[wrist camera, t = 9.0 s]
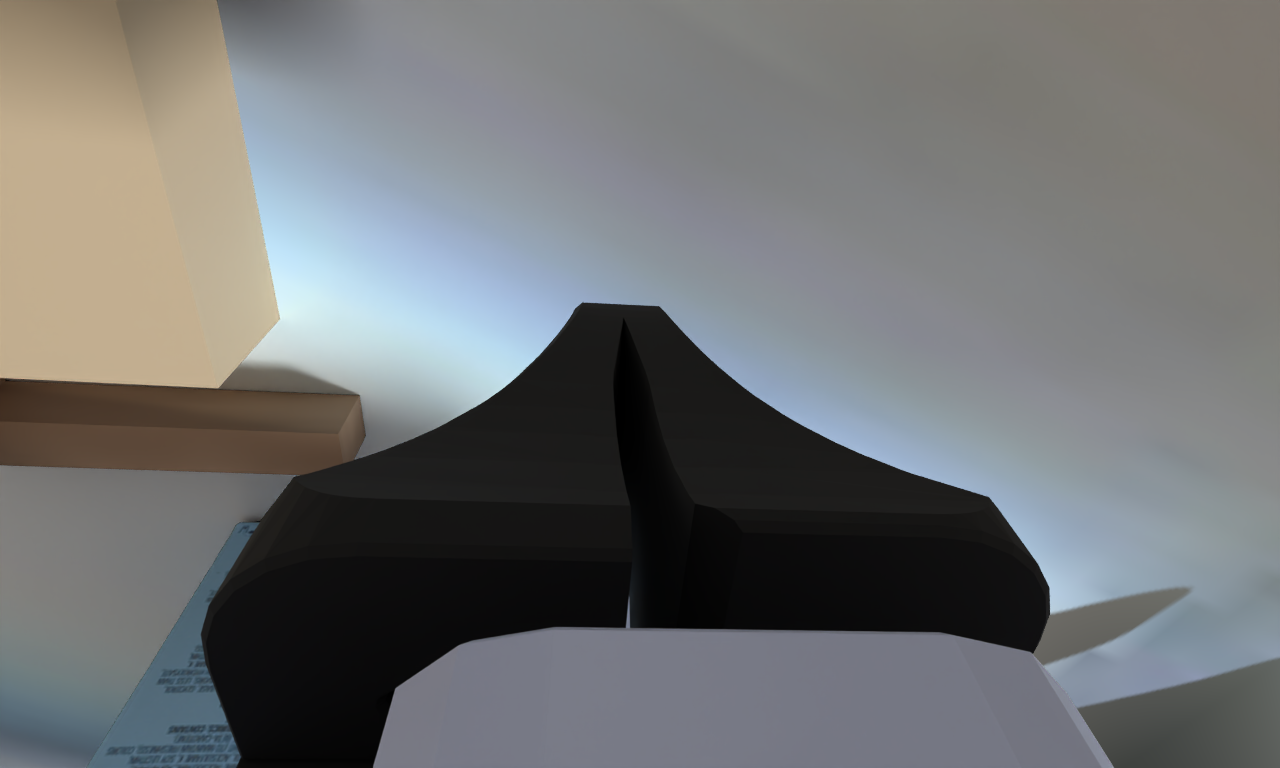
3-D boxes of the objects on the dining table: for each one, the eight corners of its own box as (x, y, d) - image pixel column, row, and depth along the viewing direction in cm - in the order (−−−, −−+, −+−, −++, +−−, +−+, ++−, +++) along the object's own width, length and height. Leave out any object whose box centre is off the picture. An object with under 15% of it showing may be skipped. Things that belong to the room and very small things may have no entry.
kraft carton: (284, 314, 20) (218, 388, 17) (22, 300, 19) (-102, 373, 16) (211, -55, 15) (100, -59, 12) (-135, -90, 15) (-355, -103, 11)
